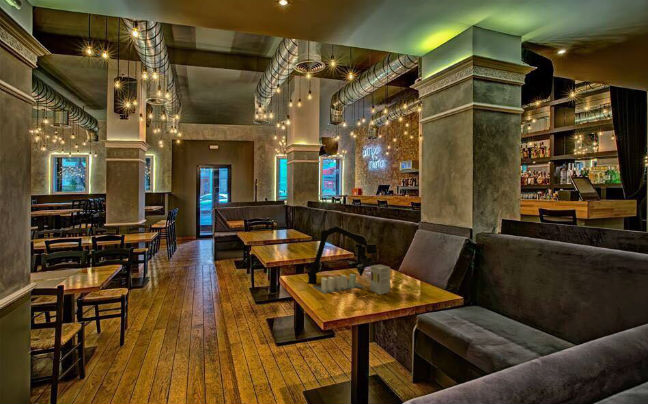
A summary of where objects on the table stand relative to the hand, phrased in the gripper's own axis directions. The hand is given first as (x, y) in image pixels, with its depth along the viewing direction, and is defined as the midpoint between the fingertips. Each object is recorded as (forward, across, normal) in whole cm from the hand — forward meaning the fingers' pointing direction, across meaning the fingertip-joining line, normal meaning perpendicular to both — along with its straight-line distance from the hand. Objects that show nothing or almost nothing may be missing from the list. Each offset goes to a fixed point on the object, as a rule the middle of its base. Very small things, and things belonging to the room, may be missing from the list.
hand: (360, 275), depth 240 cm
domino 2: (+6, -24, 0) cm, 25 cm away
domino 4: (+6, -14, 0) cm, 15 cm away
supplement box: (+7, +3, -17) cm, 19 cm away
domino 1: (+6, -29, 0) cm, 30 cm away
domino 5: (+6, -7, 0) cm, 9 cm away
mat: (+7, -16, +4) cm, 18 cm away
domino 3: (+6, -19, 0) cm, 20 cm away
